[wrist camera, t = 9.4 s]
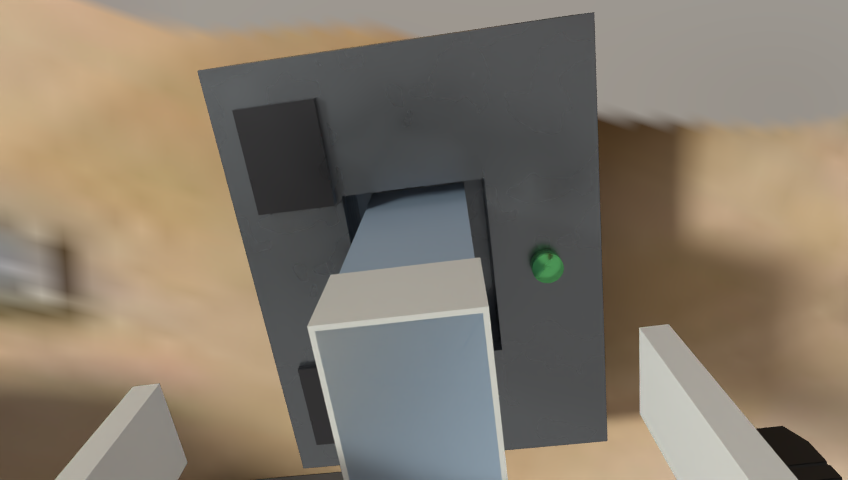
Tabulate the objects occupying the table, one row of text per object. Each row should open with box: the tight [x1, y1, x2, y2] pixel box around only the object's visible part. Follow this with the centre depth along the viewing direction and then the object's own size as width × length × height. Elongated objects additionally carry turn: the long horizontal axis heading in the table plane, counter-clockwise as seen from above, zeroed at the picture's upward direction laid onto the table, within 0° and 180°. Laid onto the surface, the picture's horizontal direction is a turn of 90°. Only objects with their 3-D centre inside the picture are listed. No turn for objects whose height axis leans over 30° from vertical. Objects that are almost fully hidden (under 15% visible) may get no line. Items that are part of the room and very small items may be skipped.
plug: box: [307, 182, 508, 480], centre depth 20 cm, size 4×6×12 cm
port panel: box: [198, 12, 607, 468], centre depth 24 cm, size 14×18×5 cm
